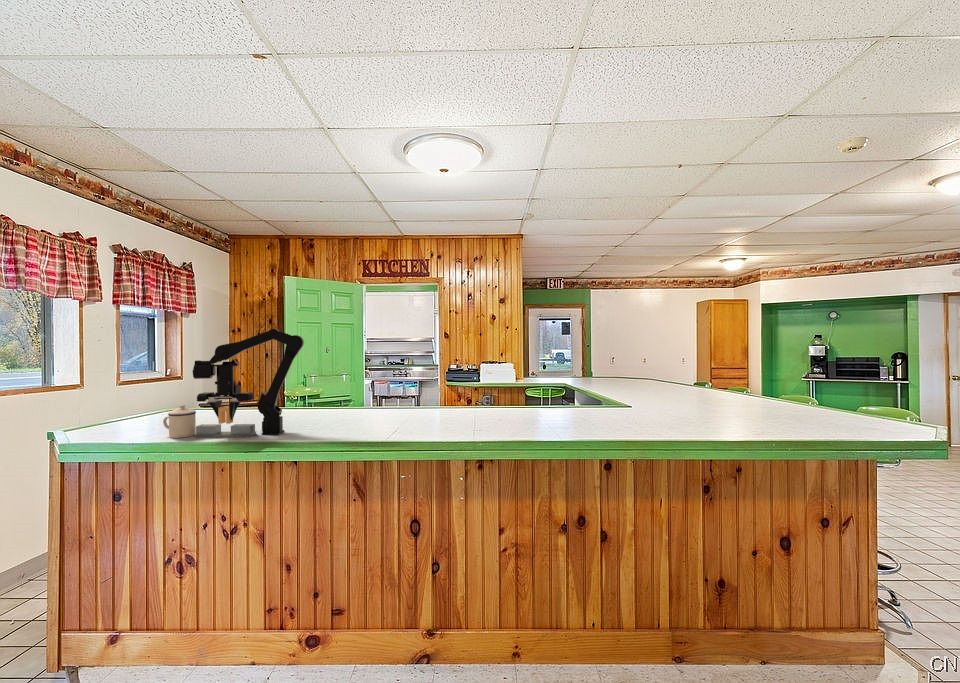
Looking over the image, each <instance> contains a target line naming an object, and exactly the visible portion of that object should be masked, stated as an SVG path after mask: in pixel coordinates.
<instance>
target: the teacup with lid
mask: <svg viewBox="0 0 960 683" xmlns="http://www.w3.org/2000/svg"><path fill="white" fill-rule="evenodd" d="M196 414H197V411H196V410H195V409H192V408H190V407H188V406H186V404H179V405H178V407H177V408H175V409H173V410H171V411H169V412H168V413H167V415H168V416H165V417H164V418H163V420H162V423H163V426H164V428H165V429H166V430H168V437H170V438H171V437H172V439H179V438H180V439H181V438H182V437H184V438H190V437H193V436H195V435H196V426H197V425H196V424H197V423H196V420H197V419H196Z"/></svg>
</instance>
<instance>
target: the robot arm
mask: <svg viewBox="0 0 960 683" xmlns="http://www.w3.org/2000/svg"><path fill="white" fill-rule="evenodd" d="M273 340H275V341H277V342H280V343H281V344H284V345H285V348H284V355H283V357H282V360H281V362H280V364H279V366H278V369H277V371H276V373H275V375H274V377H273V380H272V382H271V384H270V386H269V388H268V390H267V392H266V391H263V392H261V393H260V397H259V400H258V401H257V402H256V405H257V410H258V412H259V413H260V414H261V415H262V416H263V419H262V421H261V435H263V436H264V435H265V436H266V435H274V436H275V435H280V434H282V433H284V432H285V430H284V428H283V427H284V424H283V416H282V412H283V409H282V408H281V407H279V406H278V400H279V394H280V391H281V388H282V386H283V385H284V382H285V379H286V378H287V375H288V373H289V371H290V369H291V366H292V364H293V362H294V360H295V358H296V357H297V355H299V353H300V351H301V350H302V348H303V347H304V345H305V341H304V338H303V337H302V336H301V335H297V334H294V335H291V334H289V333H286V332H283V331H281V330H278V329H277V328H271V329H269V330H268V331H267V330H266V331H264V332H262V333H259V334H256V335H253V336H250V337H248V338H246V339H243V340H240V341H237V342H236V341H234V342H231V343H230V342H229V343H225V344H220V345H218V346H217V347H215V350H214V355H213V356H211V358H210V359H209V360H198V359H197V360H194V364H193V369H192V377H193V379H194V380H199V379H200V380H202V379H203V380H204V379H205V380H207V379H213V377H214V376H216V381H214V385H216V392H214V391H211V392H209V391H208V392H207V391H206V392H201V393H198V394H197V395H196V402H206V401H207V402H206V404H207V405H209V406H210V407H211V408H212V410H213V412H214V413H215V415H216V417H217V418H218V408H219V407H222V403H223V400H231V401H229V402H228V404H229V409H230V419H231V420H232V419H233V420H234V417H235V414H236V412H237V409H238V407H239V405H240V404H241V403H242V402H243V403H244V402H247V401H252V400H254V398H255V397H254V393H253V392H252V391H243V392H242V386H241V385H239V384H237V383H236V382H237V381H236V379H235V377H234V372H235V371H234V367H237V366H240V363H239V362H237V360H236V359H232V358H234V357H236V356H238V355H239V354H240V353H242V352H244V351H246V350H249V349H251V348H254V347H257V346H259V345H262V344H265V343H267V342H270V341H273ZM231 359H232V360H231ZM228 360H230V361H228ZM220 362H222V363H220ZM217 363H220V364H217Z"/></svg>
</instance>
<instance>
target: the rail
mask: <svg viewBox="0 0 960 683" xmlns="http://www.w3.org/2000/svg"><path fill="white" fill-rule="evenodd" d="M255 435H257V431H256V424H255V423H235V424H233V425H230V431H222V424H219V423H218V424H217V423H215V424H212V423H210V424H209V423H208V424H206V423H204V424H202V423H201V424H198V425H196V434H195V435H194V438H195V437H216V439H217V438H220V439H221V438H251V437H253V436H255Z"/></svg>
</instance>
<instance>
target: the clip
mask: <svg viewBox="0 0 960 683" xmlns="http://www.w3.org/2000/svg"><path fill="white" fill-rule="evenodd" d="M217 419H218V420H217V421H218V424H221V425H222V424H224V423H226V425H228V424H231V423H234V418H233V419H232V420H231V419H230V409H229V406H222V405H221V407H219V408H218V417H217Z"/></svg>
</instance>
